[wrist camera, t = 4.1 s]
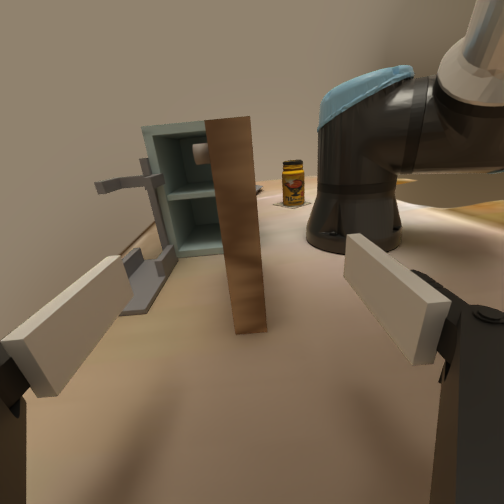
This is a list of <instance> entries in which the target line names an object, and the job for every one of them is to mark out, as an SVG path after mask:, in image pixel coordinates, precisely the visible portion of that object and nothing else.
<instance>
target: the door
mask: <svg viewBox="0 0 504 504" xmlns="http://www.w3.org/2000/svg"><path fill="white" fill-rule="evenodd" d="M204 123H205V130H206V136H207V143H202V144H193V156H194V160H195V163H196V165H200V164H210V163H211V170H212V177H213V184H214V190H215V197H216V204H217V211H218V218H219V224H220V231H221V238H222V245H223V251H224V258H225V265H226V272H227V278H228V285H229V292H230V299H231V306H232V312H233V319H234V326H235V333H236V335H237V334H248V333H260V332H267V323H266V310H265V298H264V285H263V273H262V260H261V248H260V235H259V223H258V210H257V197H256V185H255V173H254V160H253V147H252V135H251V122H250V116H246V117H234V118H224V119H214V120H204Z"/></svg>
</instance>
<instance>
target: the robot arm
mask: <svg viewBox="0 0 504 504" xmlns="http://www.w3.org/2000/svg"><path fill="white" fill-rule="evenodd" d="M413 77H414V72H413V68H412V67H411V66H409V65H400V66H396V67H393V68H384V69H380V70H377V71H373V72H370V73H367V74H364V75H361V76H359V77H356V78H353V79H351V80H349V81H346V82H344V83H342V84H340V85H338V86H336V87H335V88H333V89H332V90H330V91H329V92H328V93H327V94H326V95H325V96H324V98H323V99H322V101H321V104H320V115H319V126H318V129H317V132H318V179H317V181H318V185H317V197H316V200H315V203H314V206H313V209H312V212H311V214H310V217H309V220H308V223H307V228H306V238H307V241H308V242H309V243H310V244H312V245H313V246H315V247H317V248H320V249H323V250H326V251H330V252H335V253H341V254H345V264H344V278H345V279H346V280H347V281H348V283H349V284H350V285H351V287H352V288H353V289H354V291H355V292H356V293H357V294H358V296H359V297H360V298H361V300H362V301H363V302H364V304H365V305H366V306H367V308H368V309H369V310H370V311H371V313H372V314H373V315H374V317H375V318H376V319H377V321H378V322H379V323H380V324H381V326H382V327H383V328H384V330H385V331H386V332H387V334H388V335H389V336H390V337H391V339H392V340H393V341H394V343H395V344H396V345H397V347H398V348H399V349H400V350H401V352H402V353H403V354H404V356H405V357H406V358H407V360H408V361H409V362H410V363H411V365H412V366H414V365H426V364H433V363H434V360H435V356H436V353H437V351H438V352H439V354H440V355H441V356H442V357H443V358H444V359H445V363H444V366H443V369H442V372H441V375H440V378H439V381H438V382H439V383H441V393H440V403H439V413H438V423H437V433H436V443H435V453H434V463H433V473H432V483H431V493H430V503H429V504H504V313H503V312H501V311H499V310H497V309H493V308H490V307H487V306H481V305H469V304H468V303H466V302H465V301H463V300H462V299H460V298H459V297H458V296H456V295H455V294H453V293H452V292H450V291H449V290H448V289H446V288H443V286H442V285H440V284H439V283H438V282H436V281H435V280H433V279H432V278H430V277H429V276H427V275H426V274H423V273H421V272H419V271H416V270H409V269H408V268H406V267H405V266H404V265H402V264H401V263H399V262H398V261H397V260H395V259H394V258H393V257H391V256H390V255H389V254H387V253H386V251H390V250H392V249H394V248H396V247H397V246H398V245H399V244H400V241H401V235H402V225H401V220H400V216H399V211H398V206H397V202H396V197H395V189H396V182H397V176H398V175H399V174H447V173H448V174H453V173H488V174H495V173H500V172H504V0H476V4H475V7H474V10H473V13H472V17H471V20H470V23H469V26H468V30H467V33H466V36H465V37H464V38H462V39H461V40H459V41H458V42H457V43H456V44H454V45H453V46H452V47H451V48H450V49H449V50H448V51H447V53H446V54H445V55H444V57H443V59H442V61H441V63H440V65H439V68H438V72H437V75H432V76H427V77H423V78H416V79H413ZM133 296H134V294H133V291H132V288H131V285H130V282H129V279H128V276H127V273H126V270H125V268H124V265H123V262H122V259H121V256H120V255H118V256H108V257H106V258H105V259H104V260H102V261H101V262H100V263H98V264H97V265H96V266H95V267H93V268H92V269H91V270H90V271H88V272H87V273H86V274H84V275H83V276H82V277H81V278H80V279H78V280H77V281H76V282H74V283H73V284H72V285H71V286H69V287H68V288H67V289H65V290H64V291H63V292H62V293H60V294H59V295H58V296H57V297H55V298H54V299H53V300H52V301H50V302H49V303H48V304H46V305H45V306H44V307H43V308H41V309H40V310H38V311H37V312H36V313H35V314H33V315H32V316H31V317H29V318H28V320H26V321H24V322H23V323H22V324H21V325H20V326H19V327H17V328H15V329H14V330H13V331H12V332H10V333H9V334H8V335H7V336H5V337H4V338H3V339H1V340H0V504H26V401H25V399H24V398H23V396H22V395H23V394H24V393H25V392H26V391H27V390H28V388H29V387H31V389H32V390H33V392H34V393H35V395H36V396H37V398H42V397H54V396H58V395H59V394H60V393H61V391H62V390H63V389H64V387H65V386H66V385H67V383H68V382H69V381H70V379H71V378H72V377H73V375H74V374H75V373H76V371H77V370H78V369H79V367H80V366H81V365H82V363H83V362H84V361H85V359H86V358H87V357H88V356H89V354H90V353H91V352H92V350H93V349H94V348H95V346H96V345H97V344H98V342H99V341H100V340H101V338H102V337H103V336H104V334H105V333H106V332H107V330H108V329H109V328H110V326H111V325H112V324H113V322H114V321H115V320H116V318H117V317H118V316H119V314H120V313H121V312H122V310H123V309H124V308H125V306H126V305H127V304H128V302H129V301H130V300H131V298H132V297H133Z"/></svg>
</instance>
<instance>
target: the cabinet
mask: <svg viewBox="0 0 504 504" xmlns="http://www.w3.org/2000/svg"><path fill="white" fill-rule="evenodd" d="M141 129H142V133H143V137H144V141H145V145H146V149H147V154H148V158H142V159H139V160H140V164H141V168H142V172H143V175H140V176H129V177H119V178H112V179H107V180H103V181H99V182H95V186H96V189H97V192H98V194H106V193H109V192H112V191H115V190H118V189H122V188H131V187H143V186H145V190H147V191H148V195H149V199H150V203H151V207H152V211H153V215H154V219H155V222H156V226H157V230H158V234H159V238H160V242H161V246H162V250H163V251H162V253H161V254H160V255H159V256H158V258H157V259H150V260H144V259H143V256H142V252H141V249H140V248H134V249H133V250H132V251H130V252H129V253H128V254H127V255H126V256H125V257H124V258H123V259H122V262H123V265H124V268H125V270H126V273H127V276H128V279H129V282H130V285H131V288H132V291H133V294H134V296H133V297H132V298H131V300H130V301H129V302H128V304H127V305H126V306H125V308H124V309H123V310H122V312H121V313H120V314H119V316H124V315H136V314H146V313H147V312H148V310H149V308H150V307H151V305H152V303H153V302H154V300H155V298H156V297H157V295H158V293H159V292H160V290H161V288H162V287H163V285H164V283H165V282H166V280H167V278H168V277H169V275H170V273H171V272H172V270H173V268H174V267H175V265H176V263H177V262H178V258H182V257H193V256H204V255H215V254H224V251H223V245H222V238H221V231H220V224H219V218H218V211H217V204H216V197H215V190H214V184H213V177H212V170H211V163H210V164H200V165H196V163H195V160H194V156H193V144H202V143H207V136H206V130H205V123H204V121H195V122H184V123H174V124H164V125H154V126H143V127H141Z"/></svg>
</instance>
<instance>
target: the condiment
mask: <svg viewBox="0 0 504 504" xmlns="http://www.w3.org/2000/svg"><path fill="white" fill-rule="evenodd" d="M304 184H305V183H304V170H303V161H302V160H290V161H284V162H283V172H282V187H283V202H281V203H277V204H273V205H279V206H283V207H288V208H296V207H300V206H303V205H307V204H309V203H310V202H304Z"/></svg>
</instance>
